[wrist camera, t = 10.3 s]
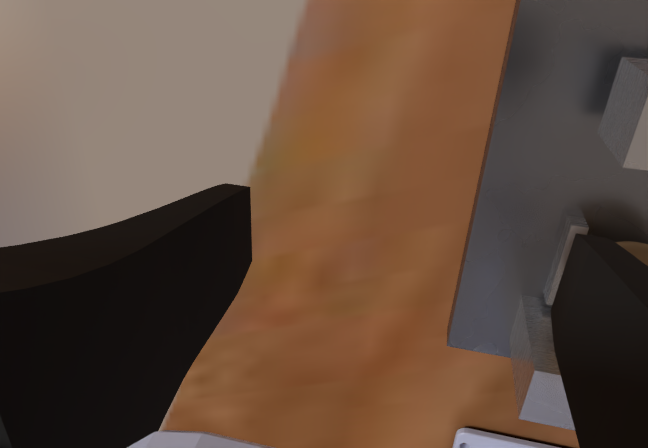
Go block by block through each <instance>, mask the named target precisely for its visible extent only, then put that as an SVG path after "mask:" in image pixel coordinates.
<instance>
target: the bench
mask: <svg viewBox="0 0 648 448" xmlns="http://www.w3.org/2000/svg"><path fill="white" fill-rule="evenodd" d="M621 57H632V58H643V59H648V0H516V4H515V9H514V14H513V18H512V23H511V28H510V33H509V38H508V42H507V47H506V52H505V57H504V61H503V66H502V71H501V76H500V81H499V85H498V90H497V95H496V100H495V104H494V109H493V114H492V119H491V124H490V128H489V133H488V138H487V143H486V147H485V152H484V157H483V162H482V167H481V171H480V176H479V181H478V186H477V190H476V195H475V200H474V205H473V210H472V214H471V219H470V224H469V229H468V233H467V238H466V243H465V248H464V252H463V257H462V262H461V267H460V272H459V276H458V281H457V286H456V291H455V295H454V300H453V305H452V310H451V315H450V319H449V324H448V329H447V346H450V347H455V348H461V349H466V350H471V351H477V352H482V353H488V354H493V355H498V356H504V357H509V358H511V362H512V370H513V378H514V386H515V393H516V401H517V409H518V417H519V419H522V420H527V421H532V422H537V423H541V424H546V425H551V426H556V427H561V428H566V429H571V430H575V427H574V423H573V420H572V416H571V412H570V408H569V405H568V401H567V397H566V393H565V390H564V386H563V382H562V378H561V374H560V371H559V367H558V363H557V359H556V355H555V351H554V342H553V334H552V323H551V308H552V305H553V301H554V298H555V295H556V292H557V289H558V286H559V283H560V280H561V277H562V274H563V271H564V268H565V265H566V262H567V259H568V256H569V253H570V250H571V247H572V244H573V240H574V237H575V234H576V233H578V234H585V235H592V236H599V237H606V238H609V239H610V240H612V241H614V242H621V241H633V242H640V243H645V244H648V170H639V169H631V168H623V167H622V166H621V165H620V163H619V162H618V160H617V159H616V158H615V156H614V155H613V154H612V152H611V151H610V149H609V148H608V147H607V145H606V144H605V143H604V141H603V140H602V138H601V137H600V136H599V134H598V130H599V127H600V123H601V120H602V117H603V114H604V111H605V108H606V104H607V101H608V98H609V95H610V92H611V89H612V86H613V82H614V79H615V76H616V73H617V70H618V67H619V63H620V60H621Z"/></svg>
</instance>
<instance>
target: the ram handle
mask: <svg viewBox="0 0 648 448" xmlns="http://www.w3.org/2000/svg"><path fill="white" fill-rule="evenodd" d="M598 134H599V136H600V137H601V138H602V140H603V141H604V143H605V144H606V145H607V147H608V148H609V149H610V151H611V152H612V154H613V155H614V156H615V158H616V159H617V160H618V162H619V163H620V165H621V166H622V167H623V168H631V169H639V170H648V59H643V58H632V57H621V60H620V63H619V67H618V70H617V73H616V76H615V79H614V82H613V86H612V89H611V92H610V95H609V98H608V101H607V104H606V108H605V111H604V114H603V117H602V120H601V123H600V127H599V130H598Z"/></svg>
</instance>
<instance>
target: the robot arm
mask: <svg viewBox="0 0 648 448" xmlns="http://www.w3.org/2000/svg"><path fill="white" fill-rule="evenodd" d="M251 262H252V241H251V204H250V187H247V186H240V185H233V184H222V185H217V186H214V187H211V188H208V189H206V190H203V191H200V192H198V193H195V194H193V195H190V196H188V197H185V198H183V199H180V200H178V201H175V202H173V203H170V204H168V205H165V206H162V207H160V208H157V209H155V210H152V211H149V212H146V213H143V214H140V215H137V216H135V217H132V218H129V219H126V220H123V221H120V222H117V223H114V224H111V225H108V226H104V227H100V228H97V229H93V230H89V231H85V232H81V233H77V234H73V235H69V236H65V237H59V238H54V239H48V240H43V241H38V242H33V243H27V244H22V245H15V246H8V247H1V248H0V448H274V447H270V446H266V445H261V444H257V443H253V442H248V441H244V440H240V439H236V438H231V437H227V436H223V435H218V434H214V433H210V432H196V431H170V430H164V431H158V430H159V428H160V426H161V424H162V421H163V419H164V417H165V415H166V413H167V411H168V409H169V407H170V405H171V403H172V401H173V399H174V397H175V395H176V393H177V391H178V389H179V387H180V385H181V383H182V381H183V379H184V377H185V375H186V374H187V372H188V370H189V369H190V367H191V365H192V363H193V362H194V360H195V359H196V357H197V356H198V354H199V353H200V351H201V349H202V348H203V346H204V345H205V343H206V342H207V340H208V339H209V337H210V336H211V334H212V333H213V331H214V329H215V328H216V326H217V325H218V323H219V322H220V320H221V319H222V317H223V316H224V314H225V312H226V311H227V309H228V308H229V306H230V305H231V303H232V301H233V300H234V298H235V297H236V295H237V293H238V291H239V289H240V287H241V285H242V283H243V280H244V278H245V276H246V274H247V271H248V269H249V267H250V264H251ZM551 323H552V334H553V342H554V351H555V355H556V359H557V363H558V367H559V371H560V374H561V378H562V382H563V386H564V390H565V393H566V397H567V401H568V405H569V408H570V412H571V416H572V420H573V423H574V427H575V431H576V435H577V438H578V442H579V447H580V448H648V266H647V265H646V264H644V263H643V262H642V261H640V260H639V259H638V258H636V257H635V256H634V255H632V254H631V253H630V252H628V251H627V250H626V249H624V248H623V247H621V246H620V245H618V244H617V243H615V242H614V241H612V240H610V239H609V238H606V237H599V236H592V235H585V234H578V233H576V234H575V237H574V240H573V244H572V247H571V250H570V253H569V256H568V259H567V262H566V265H565V268H564V271H563V274H562V277H561V280H560V283H559V286H558V289H557V292H556V295H555V298H554V301H553V305H552V308H551ZM463 443H466V444H463ZM453 448H560V447H555V446H551V445H546V444H541V443H536V442H532V441H527V440H522V439H517V438H513V437H508V436H503V435H498V434H494V433H489V432H484V431H479V430H475V429H470V428H461V429H459V430H458V431H457V432H456V436H455V440H454V444H453Z"/></svg>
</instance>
